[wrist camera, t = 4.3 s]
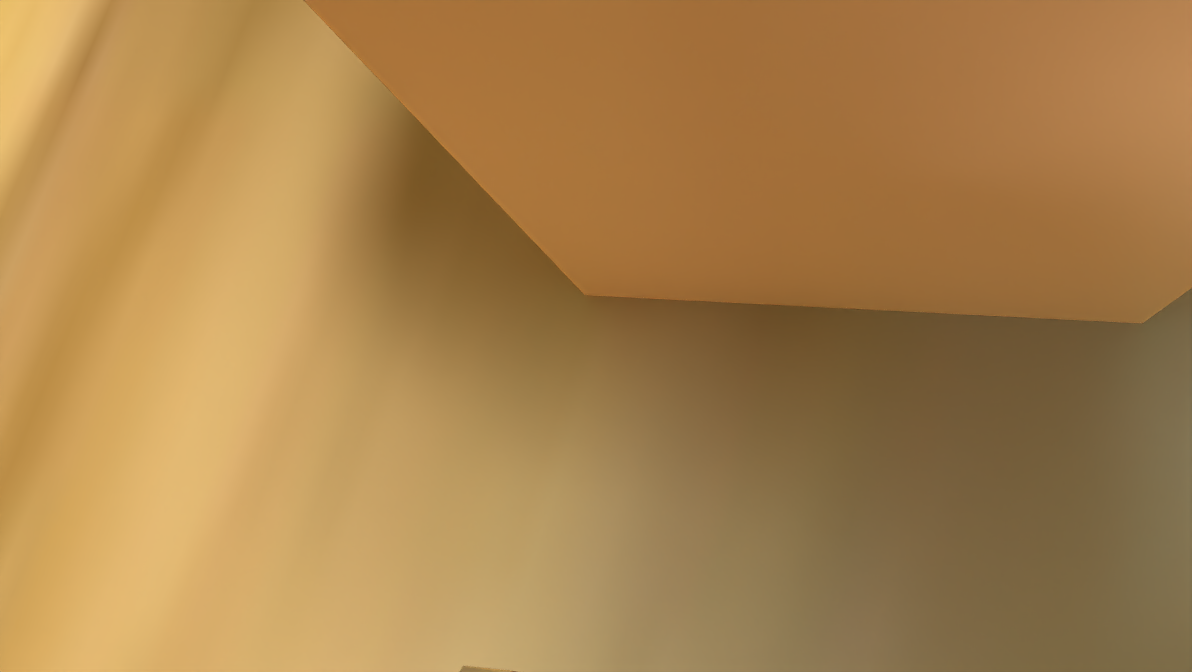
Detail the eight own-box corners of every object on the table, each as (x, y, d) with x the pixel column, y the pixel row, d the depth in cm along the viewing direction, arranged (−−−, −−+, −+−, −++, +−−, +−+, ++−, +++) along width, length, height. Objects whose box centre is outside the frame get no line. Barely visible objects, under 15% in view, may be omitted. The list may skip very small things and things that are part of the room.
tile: (584, 295, 21) (282, -23, 9) (597, 170, 21) (323, -281, 10) (1142, 323, 18) (1664, -49, 7) (1144, 183, 19) (1637, -386, 7)
